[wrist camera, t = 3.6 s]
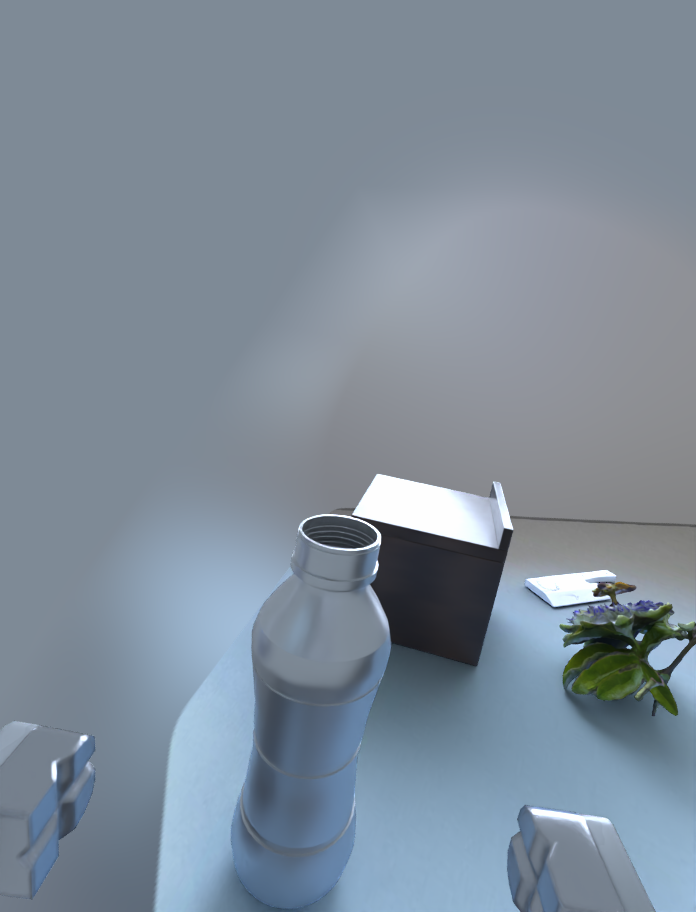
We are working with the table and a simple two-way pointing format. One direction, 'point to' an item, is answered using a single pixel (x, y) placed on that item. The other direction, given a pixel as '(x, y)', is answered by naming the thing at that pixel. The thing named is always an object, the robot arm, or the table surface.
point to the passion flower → (622, 648)
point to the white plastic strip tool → (569, 587)
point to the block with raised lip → (437, 563)
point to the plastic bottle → (310, 714)
